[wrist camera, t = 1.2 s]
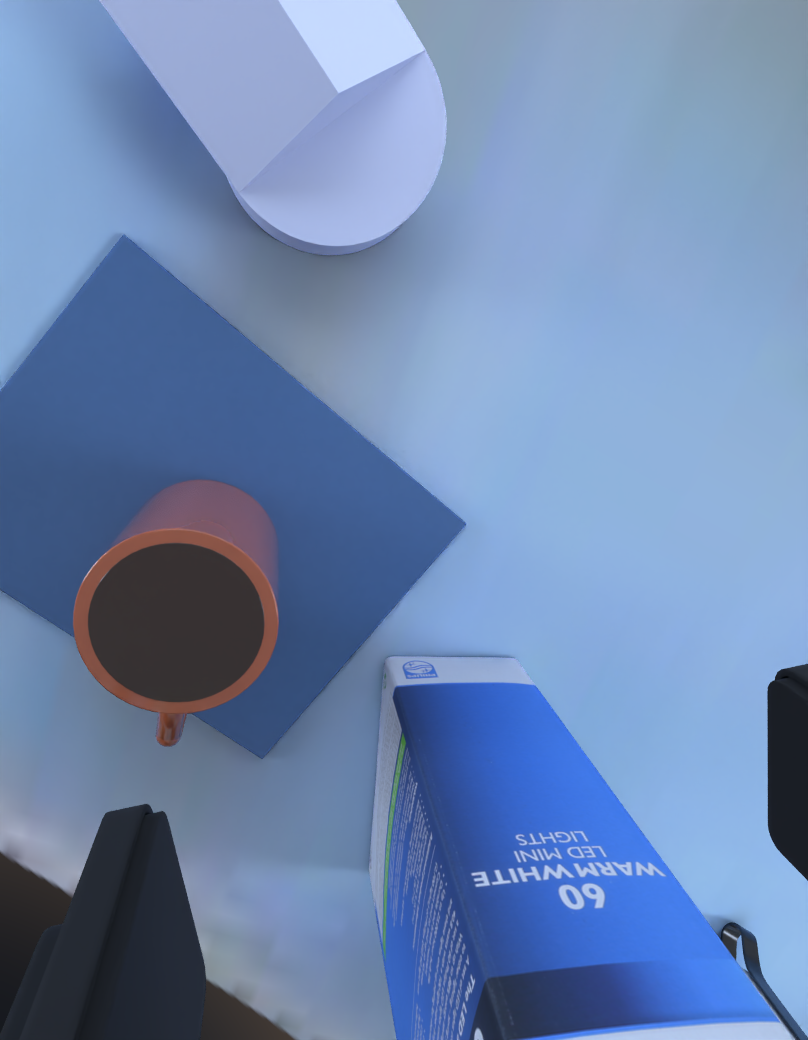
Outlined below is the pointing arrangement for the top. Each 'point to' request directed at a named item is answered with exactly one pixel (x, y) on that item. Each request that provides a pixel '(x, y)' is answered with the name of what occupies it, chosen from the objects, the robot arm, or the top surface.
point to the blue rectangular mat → (203, 475)
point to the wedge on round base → (302, 108)
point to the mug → (182, 603)
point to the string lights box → (528, 879)
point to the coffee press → (759, 975)
